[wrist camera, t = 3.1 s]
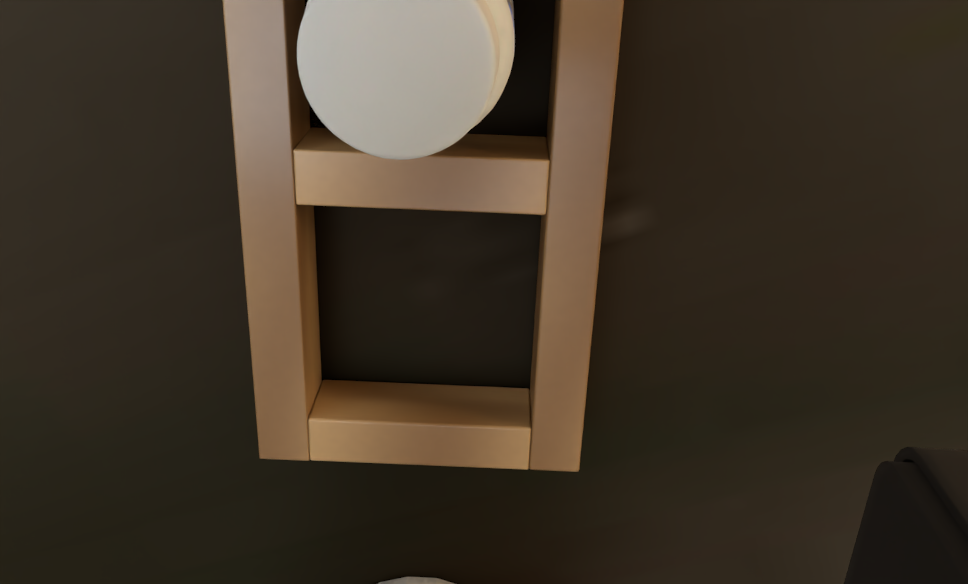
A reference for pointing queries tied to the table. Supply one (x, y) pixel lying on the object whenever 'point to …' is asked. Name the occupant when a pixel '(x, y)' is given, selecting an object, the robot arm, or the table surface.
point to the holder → (421, 186)
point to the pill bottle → (404, 70)
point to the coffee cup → (416, 581)
